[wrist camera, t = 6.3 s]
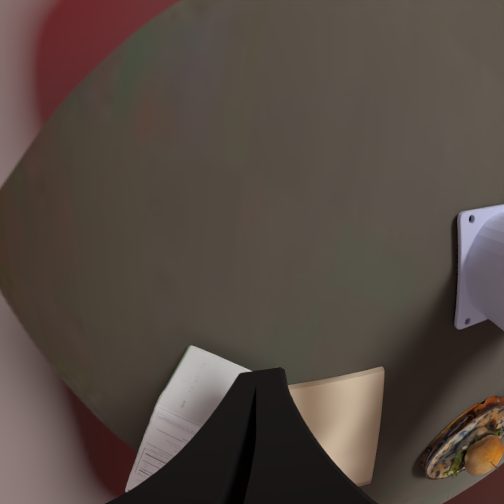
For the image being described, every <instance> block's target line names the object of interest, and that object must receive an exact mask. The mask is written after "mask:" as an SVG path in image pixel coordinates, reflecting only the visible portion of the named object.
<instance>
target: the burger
mask: <svg viewBox="0 0 504 504" xmlns="http://www.w3.org/2000/svg"><path fill="white" fill-rule="evenodd" d="M503 436H504V396H503V398H499V397H497V396H493V397H492V398H488V399H487V400H486V401H485V403H484V404H479V403H478V404H476V405H475V406H473V407H471V408H470V409H468V410H467V411H466V412H464V413H463V414H462V415H460V416H459V417H458V418H457V419H456V420H454V421H453V422H452V423H451V424H450V425H448V426H447V427H446V428H445V429H444V430H443V431H442V432H441V433H440V434H439V435H438V436H437V437H436V438H435V439H434V440H433V441H432V442H431V444H430V445H429V446H428V447H427V449H426V450H425V452H424V453H423V455H422V458H421V461H420V463H421V465H420V466H421V468H422V469H423V470H424V471H425V475H426V477H427V478H429V479H433V480H435V479H443V478H446V477H450V476H452V475H453V477H452V478H455V476H457V473H459V472H461V471H463V470H466V471H467V472H468V473H469V474H471V475H474V476H476V475H481V474H484V473H487V472H488V471H490V470H491V469H493V468H494V467H496V465H497V464H498V462H499V461H500V459H501V457H502V455H503V451H504V447H503V443H502V441H501V439H502V437H503ZM496 468H497V467H496ZM497 469H498V468H497ZM498 470H499V469H498Z"/></svg>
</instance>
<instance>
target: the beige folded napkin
mask: <svg viewBox="0 0 504 504" xmlns="http://www.w3.org/2000/svg"><path fill="white" fill-rule="evenodd" d="M384 371H385V370H384V368H383V366H381V367H377V368H373V369H369V370H365V371H361V372H356V373H352V374H347V375H343V376H338V377H333V378H328V379H322V380H317V381H311V382H305V383H299V384H292V385H288V388H289V391H290V394H291V396H292V398H293V400H294V402H295V404H296V406H297V408H298V410H299V412H300V414H301V416H302V418H303V419H304V421H305V423H306V424H307V426H308V427H309V429H310V430H311V432H312V434H313V435H314V437H315V438H316V439H317V441H318V442H319V444H320V445H321V446H322V448H323V449H324V450H325V451H326V453H327V454H328V455H329V456H330V458H331V459H332V460H333V461H334V462H335V463H336V465H337V466H338V467H339V468H340V469H341V470H342V471H343V472H344V474H345V475H346V476H347V477H349V478H350V479H351V480H352V481H353V482H354V483H355V484H356V485H357V486H358V487H359V486H363V485H367V484H371V479H372V474H373V469H374V463H375V457H376V451H377V444H378V437H379V429H380V421H381V411H382V400H383V388H384Z"/></svg>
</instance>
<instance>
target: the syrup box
mask: <svg viewBox="0 0 504 504" xmlns="http://www.w3.org/2000/svg"><path fill="white" fill-rule="evenodd" d="M243 372H251V370H248V369H246V368H244V367H241V366H239V365H237V364H235V363H233V362H230V361H228V360H225V359H223V358H221V357H219V356H216V355H214V354H212V353H209V352H207V351H205V350H202V349H200V348H197V347H195V346H188V348H187V350H186V352H185V354H184V355H183V357H182V359H181V360H180V362H179V364H178V366H177V368H176V369H175V371H174V373H173V374H172V376H171V378H170V380H169V381H168V383H167V385H166V386H165V388H164V390H163V391H162V393H161V395H160V396H159V398H158V400H157V402H156V405H155V407H154V410H153V413H152V415H151V418H150V420H149V423H148V426H147V428H146V431H145V434H144V437H143V440H142V442H141V445H140V448H139V450H138V453H137V456H136V459H135V462H134V465H133V467H132V470H131V473H130V476H129V479H128V482H127V486H126V489H125V491H126V492H128V491H130V490H131V489H133V488H134V487H136V486H137V485H139V484H140V483H142V482H143V481H144V480H146V479H147V478H149V477H150V476H151V475H153V474H154V473H155V472H157V471H158V470H159V469H160V468H162V467H163V466H164V465H165V464H166V463H168V462H169V461H170V460H171V459H172V458H173V457H174V456H175V455H176V454H177V453H178V452H179V451H180V450H181V449H182V448H183V447H184V446H185V445H186V444H187V443H188V442H189V441H190V440H191V439H192V438H193V436H194V435H195V434H196V433H197V432H198V431H199V429H200V428H201V427H202V426H203V425H204V424H205V422H206V421H207V420H208V418H209V417H210V416H211V414H212V413H213V412H214V410H215V409H216V408H217V406H218V405H219V403H220V402H221V401H222V399H223V398H224V396H225V395H226V393H227V392H228V390H229V389H230V387H231V385H232V384H233V382H234V381H235V379H236V378H237V376H238V375H239V374H240V373H243Z"/></svg>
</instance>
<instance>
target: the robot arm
mask: <svg viewBox="0 0 504 504" xmlns="http://www.w3.org/2000/svg"><path fill="white" fill-rule="evenodd" d="M470 215H471V221H470V222H469V217H470ZM457 226H458V284H457V300H456V312H455V322H454V325H455V327H456V328H457V329H459V330H460V329H463V328H466V327H469V326H471V325H474V324H477V323H479V322H482V321H484V320H487V319H489V320H491V321H492V322H493V323H494V324H496V325H497V326H498V327H499V328H501V329H502V330H503V331H504V204H502V205H497V206H491V207H485V208H479V209H473V210H468V211H462V212H460V213H459V215H458V217H457ZM466 319H467V321H466V322H465V320H466ZM106 504H377V503H376V502H375V501H373V500H372V499H371V498H370V497H369V496H367V495H366V494H365V493H364V492H363V491H362V490H361V489H360V488H359V487H358V486H357V485H356V484H355V483H354V482H353V481H352V480H351V479H350V478H349V477H347V476H346V475H345V474H344V472H343V471H342V470H341V469H340V468H339V467H338V466H337V465H336V463H335V462H334V461H333V460H332V459H331V458H330V456H329V455H328V454H327V453H326V451H325V450H324V449H323V448H322V446H321V445H320V444H319V442H318V441H317V439H316V438H315V437H314V435H313V434H312V432H311V430H310V429H309V427H308V426H307V424H306V423H305V421H304V419H303V418H302V416H301V414H300V412H299V410H298V408H297V406H296V404H295V402H294V400H293V398H292V396H291V394H290V391H289V388H288V384H287V379H286V374H285V370H284V369H282V368H281V367H279V368H273V369H266V370H258V371H251V372H243V373H240V374H239V375H238V376H237V378H236V379H235V381H234V382H233V384H232V385H231V387H230V389H229V390H228V392H227V393H226V395H225V396H224V398H223V399H222V401H221V402H220V403H219V405H218V406H217V408H216V409H215V410H214V412H213V413H212V414H211V416H210V417H209V418H208V420H207V421H206V422H205V424H204V425H203V426H202V427H201V428H200V429H199V431H198V432H197V433H196V434H195V435H194V436H193V438H192V439H191V440H190V441H189V442H188V443H187V444H186V445H185V446H184V447H183V448H182V449H181V450H180V451H179V452H178V453H177V454H176V455H175V456H174V457H173V458H172V459H171V460H170V461H169V462H168V463H166V464H165V465H164V466H163V467H162V468H160V469H159V470H158V471H157V472H155V473H154V474H153V475H151V476H150V477H149V478H147V479H146V480H144V481H143V482H142V483H140V484H139V485H137V486H136V487H134V488H133V489H131V490H130V491H128V492H126V493H124V494H123V495H121V496H119V497H118V498H116V499H114V500H112V501H110V502H108V503H106Z"/></svg>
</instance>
